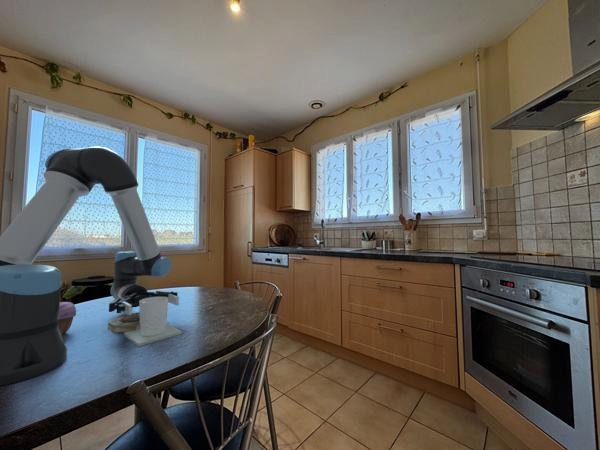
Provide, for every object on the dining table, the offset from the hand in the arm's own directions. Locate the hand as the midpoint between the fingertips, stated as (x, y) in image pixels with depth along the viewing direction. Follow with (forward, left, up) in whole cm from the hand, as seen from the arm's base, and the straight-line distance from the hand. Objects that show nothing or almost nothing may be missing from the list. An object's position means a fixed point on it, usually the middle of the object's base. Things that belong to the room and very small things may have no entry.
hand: (155, 305), depth 78 cm
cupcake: (+5, +30, -9) cm, 32 cm away
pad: (0, 0, -9) cm, 9 cm away
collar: (+11, +10, -9) cm, 17 cm away
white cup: (0, 0, -8) cm, 8 cm away
